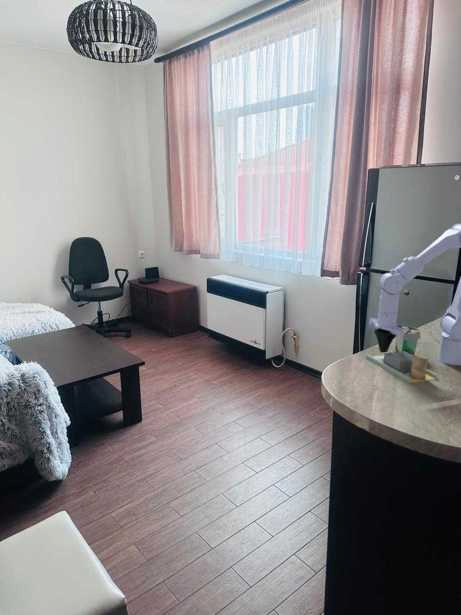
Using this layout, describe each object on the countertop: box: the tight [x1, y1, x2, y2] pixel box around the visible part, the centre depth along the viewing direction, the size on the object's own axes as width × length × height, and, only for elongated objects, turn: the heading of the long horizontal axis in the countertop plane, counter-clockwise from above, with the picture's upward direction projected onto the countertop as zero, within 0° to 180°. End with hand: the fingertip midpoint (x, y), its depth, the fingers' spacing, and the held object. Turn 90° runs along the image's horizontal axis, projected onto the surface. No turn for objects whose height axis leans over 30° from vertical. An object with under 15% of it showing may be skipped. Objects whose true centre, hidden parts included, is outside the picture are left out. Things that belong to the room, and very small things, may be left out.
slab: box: [383, 351, 413, 374], centre depth 129 cm, size 8×7×4 cm
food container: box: [394, 323, 421, 356], centre depth 140 cm, size 12×6×10 cm, turn 169°
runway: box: [364, 350, 438, 384], centre depth 130 cm, size 10×20×2 cm, turn 19°
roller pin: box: [410, 354, 429, 380], centre depth 122 cm, size 4×4×6 cm
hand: (383, 351), depth 138 cm, fingers closed
